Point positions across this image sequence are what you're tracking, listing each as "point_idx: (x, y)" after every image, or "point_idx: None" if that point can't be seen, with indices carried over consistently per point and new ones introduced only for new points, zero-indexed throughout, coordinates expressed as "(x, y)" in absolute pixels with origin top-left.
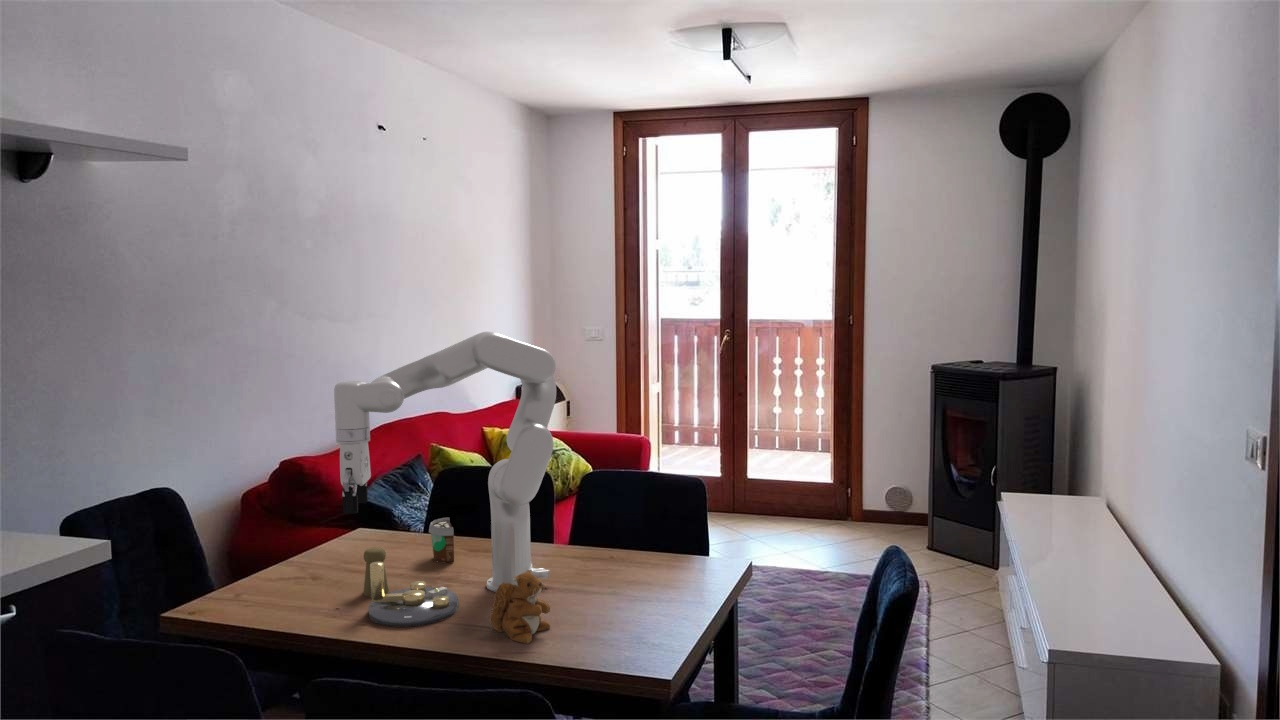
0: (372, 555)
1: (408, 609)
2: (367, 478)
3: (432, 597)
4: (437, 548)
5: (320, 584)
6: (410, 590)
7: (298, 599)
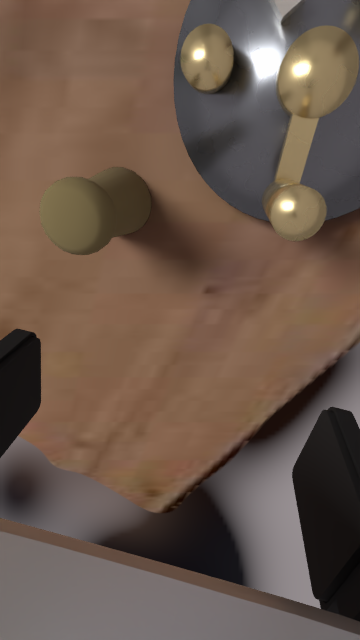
0: (109, 226)
1: None
2: (72, 612)
3: (303, 2)
4: None
5: (43, 323)
6: (281, 87)
7: (128, 361)
